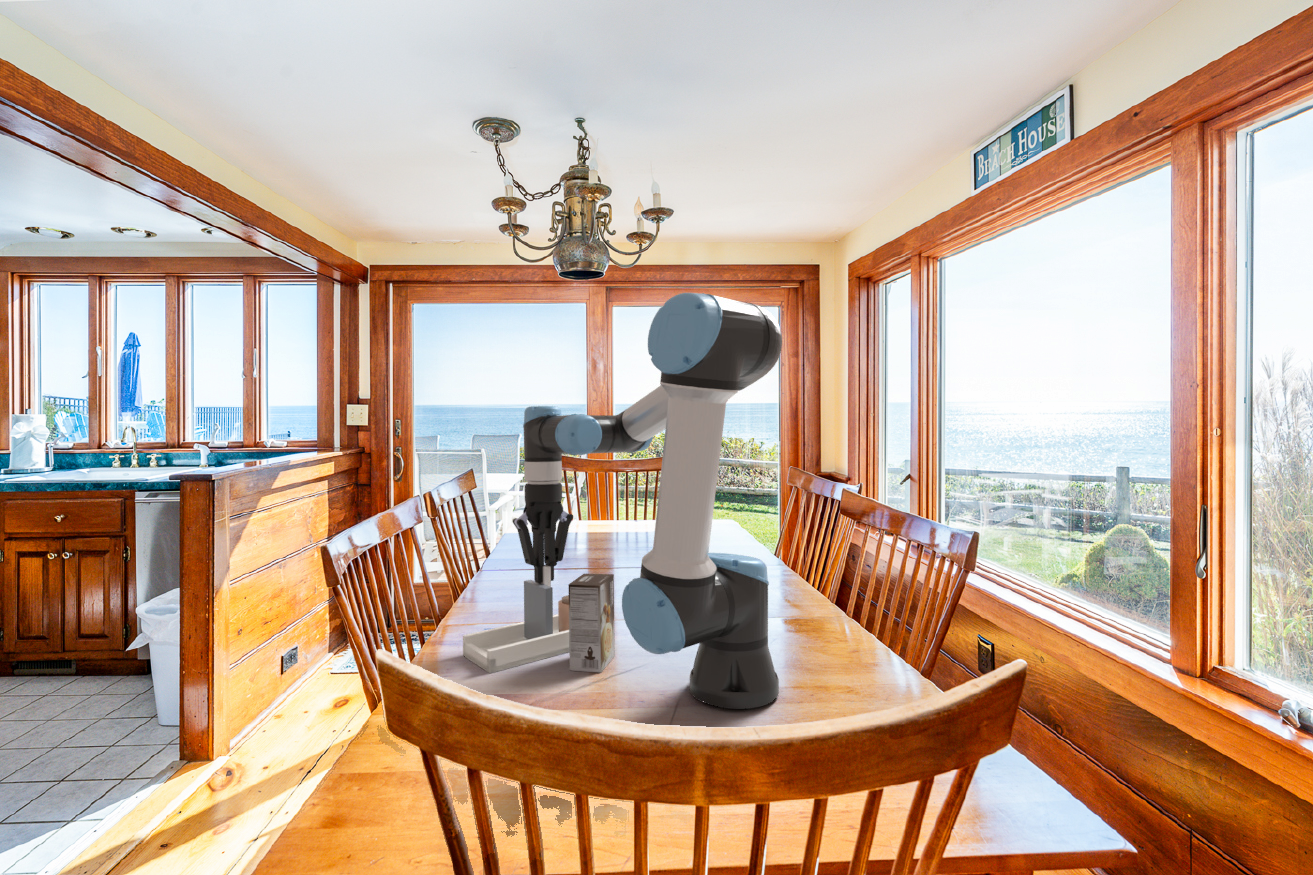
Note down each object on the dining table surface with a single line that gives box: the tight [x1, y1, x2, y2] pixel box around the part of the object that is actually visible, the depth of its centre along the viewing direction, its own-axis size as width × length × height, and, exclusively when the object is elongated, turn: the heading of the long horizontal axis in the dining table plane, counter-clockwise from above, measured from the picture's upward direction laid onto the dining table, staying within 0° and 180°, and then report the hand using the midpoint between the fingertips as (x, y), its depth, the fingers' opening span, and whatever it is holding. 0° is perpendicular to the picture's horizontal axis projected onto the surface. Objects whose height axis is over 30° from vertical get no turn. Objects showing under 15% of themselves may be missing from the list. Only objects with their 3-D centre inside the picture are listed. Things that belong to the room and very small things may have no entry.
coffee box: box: [568, 573, 616, 673], centre depth 119 cm, size 9×6×16 cm
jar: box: [557, 594, 569, 632], centre depth 132 cm, size 6×6×8 cm
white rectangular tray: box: [462, 613, 569, 674], centre depth 127 cm, size 12×26×6 cm, turn 130°
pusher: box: [523, 579, 554, 639], centre depth 127 cm, size 9×2×12 cm, turn 40°
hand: (544, 597), depth 128 cm, fingers closed
